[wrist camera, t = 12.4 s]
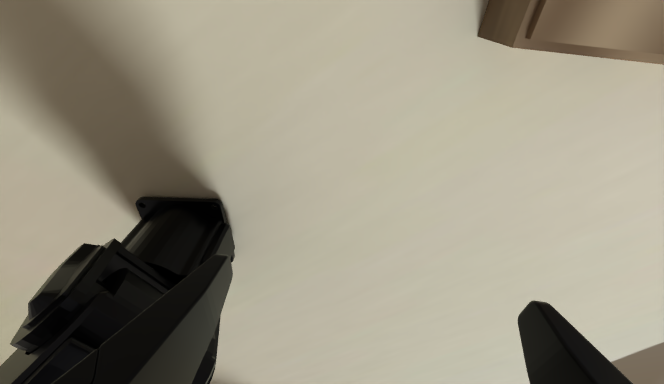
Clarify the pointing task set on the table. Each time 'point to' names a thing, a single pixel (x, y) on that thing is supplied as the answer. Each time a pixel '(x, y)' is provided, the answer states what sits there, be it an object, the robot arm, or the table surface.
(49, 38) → the table surface
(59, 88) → the table surface
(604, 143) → the table surface
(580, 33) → the walnut box
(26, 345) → the robot arm
